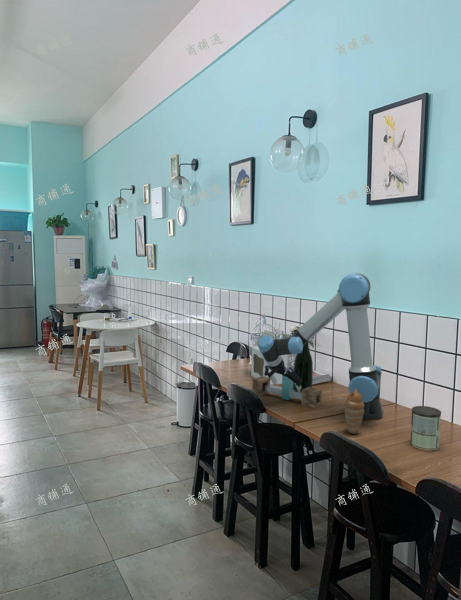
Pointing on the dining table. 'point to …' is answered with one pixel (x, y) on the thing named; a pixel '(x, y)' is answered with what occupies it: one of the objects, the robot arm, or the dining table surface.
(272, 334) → the gable box
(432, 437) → the coffee can
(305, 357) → the beer bottle
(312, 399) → the sleeve
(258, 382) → the socket block
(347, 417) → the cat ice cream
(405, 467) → the dining table surface
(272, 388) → the grey and teal t-shape
